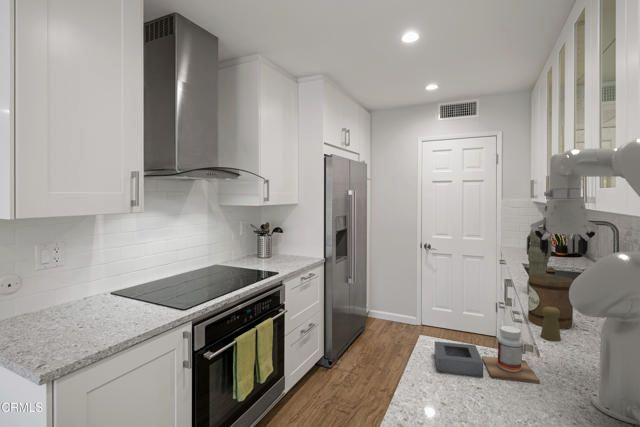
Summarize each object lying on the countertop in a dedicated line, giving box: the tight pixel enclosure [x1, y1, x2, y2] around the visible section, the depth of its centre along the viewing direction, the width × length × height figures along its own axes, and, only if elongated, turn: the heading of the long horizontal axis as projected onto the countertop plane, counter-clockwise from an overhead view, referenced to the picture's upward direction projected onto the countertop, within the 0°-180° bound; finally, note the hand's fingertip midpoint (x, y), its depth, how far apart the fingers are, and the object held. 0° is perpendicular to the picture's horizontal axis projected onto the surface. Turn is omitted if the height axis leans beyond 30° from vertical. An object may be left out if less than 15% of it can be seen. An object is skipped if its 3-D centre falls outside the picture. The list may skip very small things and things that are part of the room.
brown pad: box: [481, 355, 541, 384], centre depth 100 cm, size 12×12×1 cm
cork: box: [540, 307, 562, 342], centre depth 122 cm, size 6×6×11 cm
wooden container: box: [527, 267, 574, 330], centre depth 138 cm, size 15×15×22 cm
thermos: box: [526, 226, 552, 296], centre depth 176 cm, size 9×12×35 cm
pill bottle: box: [497, 325, 523, 372], centre depth 99 cm, size 6×6×11 cm
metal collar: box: [434, 341, 484, 378], centre depth 103 cm, size 12×12×4 cm
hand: (562, 253), depth 102 cm, fingers open, 9 cm apart
